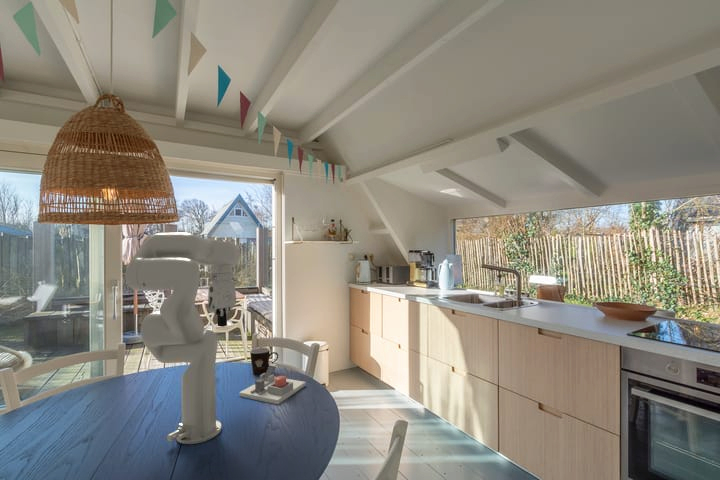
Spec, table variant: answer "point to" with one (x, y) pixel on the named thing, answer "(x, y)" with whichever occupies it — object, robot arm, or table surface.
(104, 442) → the table surface
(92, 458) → the table surface
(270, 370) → the lever
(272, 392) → the panel
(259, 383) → the slider
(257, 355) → the coffee mug
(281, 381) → the button
